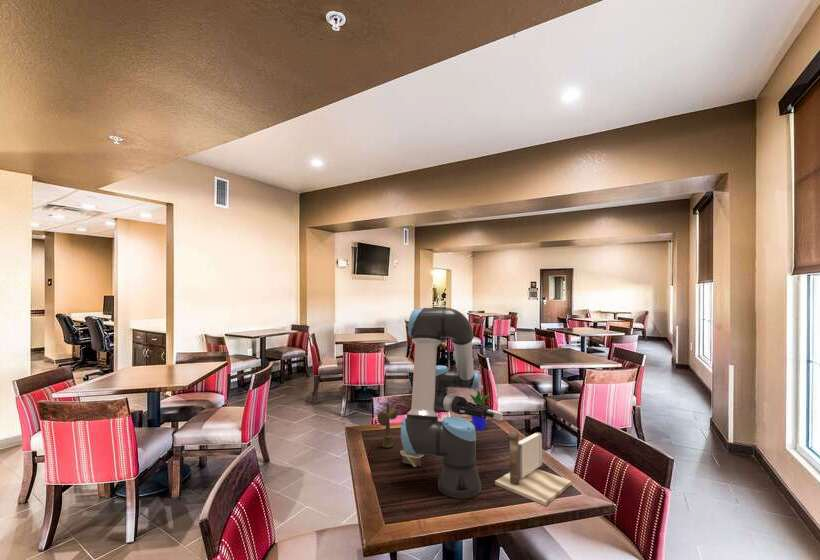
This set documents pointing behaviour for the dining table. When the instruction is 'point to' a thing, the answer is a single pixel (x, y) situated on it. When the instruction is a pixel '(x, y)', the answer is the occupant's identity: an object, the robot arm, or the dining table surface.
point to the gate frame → (531, 479)
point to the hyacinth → (479, 421)
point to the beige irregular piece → (411, 458)
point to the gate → (530, 454)
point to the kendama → (387, 424)
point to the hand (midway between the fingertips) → (501, 416)
